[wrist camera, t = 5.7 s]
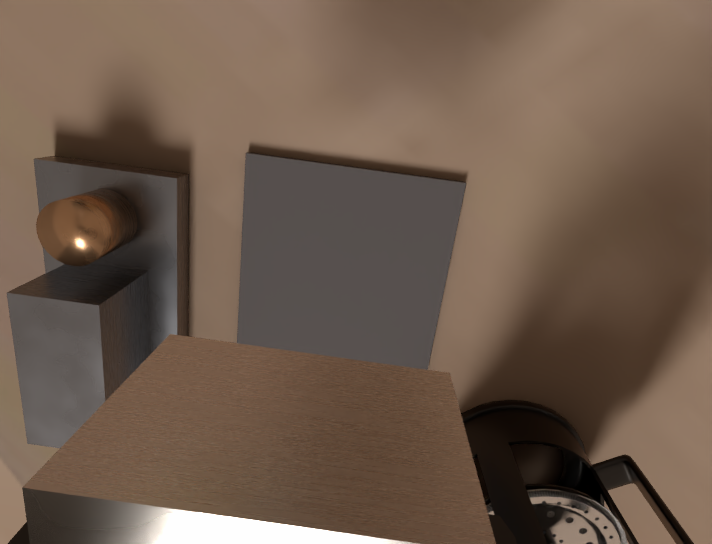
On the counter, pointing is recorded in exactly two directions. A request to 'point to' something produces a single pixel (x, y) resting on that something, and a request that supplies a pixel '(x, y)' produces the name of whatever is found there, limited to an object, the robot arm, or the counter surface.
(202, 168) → the counter surface
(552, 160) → the counter surface
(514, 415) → the french press
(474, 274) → the counter surface
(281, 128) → the counter surface
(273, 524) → the white box with knob
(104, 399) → the grey stand
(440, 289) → the mat
